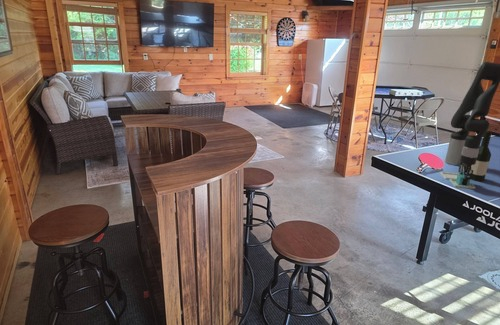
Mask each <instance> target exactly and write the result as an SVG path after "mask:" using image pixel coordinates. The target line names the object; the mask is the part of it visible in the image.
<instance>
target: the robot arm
mask: <svg viewBox="0 0 500 325" xmlns="http://www.w3.org/2000/svg"><path fill="white" fill-rule="evenodd" d="M482 80H484V81H490V82H491V84H490V85H489V87H488V88H487V89H484V88H483V85H482ZM499 85H500V63H498V62H490V61H484V62H482V64H481V65H480V66H479V68H478V70H477V73H476V74H475V77H474V79H473V81H472V84H471V85H470V87H469V88H468V90H467V92H466V94H465V96H464V98H463V99H462V102H461V103H460V105H459V107H458V109H457V110H456V111H455V112H454V114H453V116H452V118H451V121H450V125H451V127H452V128H453V129H460V130H459V131H458V130H457V131H455V132H452V133H451V134H450V137H449V141H448V142H449V143H448V147H447V151H446V155H445V158H444V159H445V160H444V163H446V164H448V165H450V166H451V165H452V166H458V173H459V174H462V175H464V179H463V182H462V185H465V186H466V185H467V182H468V179H469V180H470V181H471V177H472V174H473V170H471V169H472V167H471V166H472V165H474V164H476V160H477V156H478V153H479V147H480V146H481V143H482V140H483V136H484V134H485V133H486V131H487V130H489V128H490V122H489V120H487V119H481V118H483V117H487V116H489V112H490V109H491V105H492V101H493V99H494V96H495V94H496V92H497V90H498V88H499ZM469 112H471V114H468V113H469ZM470 132H473V133H478V134H475V135H469V133H470ZM465 175H466V176H465ZM467 176H468V177H467Z"/></svg>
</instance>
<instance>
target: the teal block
mask: <svg viewBox="0 0 500 325" xmlns="http://www.w3.org/2000/svg"><path fill="white" fill-rule="evenodd" d="M465 176H466V175H465ZM467 177H468V176H467ZM463 179H464V175H462V174H458V175H457V179H456V183H457V184H458V185H461V186H465V185H462V182H463ZM470 182H471V179H470V180H469V179H468V182H467V185H466V186H469V183H470Z"/></svg>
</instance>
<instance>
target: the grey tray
mask: <svg viewBox="0 0 500 325" xmlns="http://www.w3.org/2000/svg"><path fill="white" fill-rule="evenodd" d="M459 173H460V172H458V173H457V172H447V171H440V175H441V176H442V177H443V178H444V180H448V181H450V179H457V175H458V174H459Z"/></svg>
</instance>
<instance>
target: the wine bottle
mask: <svg viewBox="0 0 500 325" xmlns="http://www.w3.org/2000/svg"><path fill="white" fill-rule="evenodd" d="M491 137H492V130H491V129H488V130H487V131H486V133H485V134H484V136H483V138H482V140H481V143H480V147H479V153H478V156H477V160H476V164H474V165H472V166H471V167H472V169H471V170H473V174H472V177H471V179H470V181H475V182H484V181H485V180H486V179H485V178H486V175H487V171H488V167H489V164H490V160H491V157H492V153H491V151H490V148H489V144H490V141H491Z"/></svg>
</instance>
